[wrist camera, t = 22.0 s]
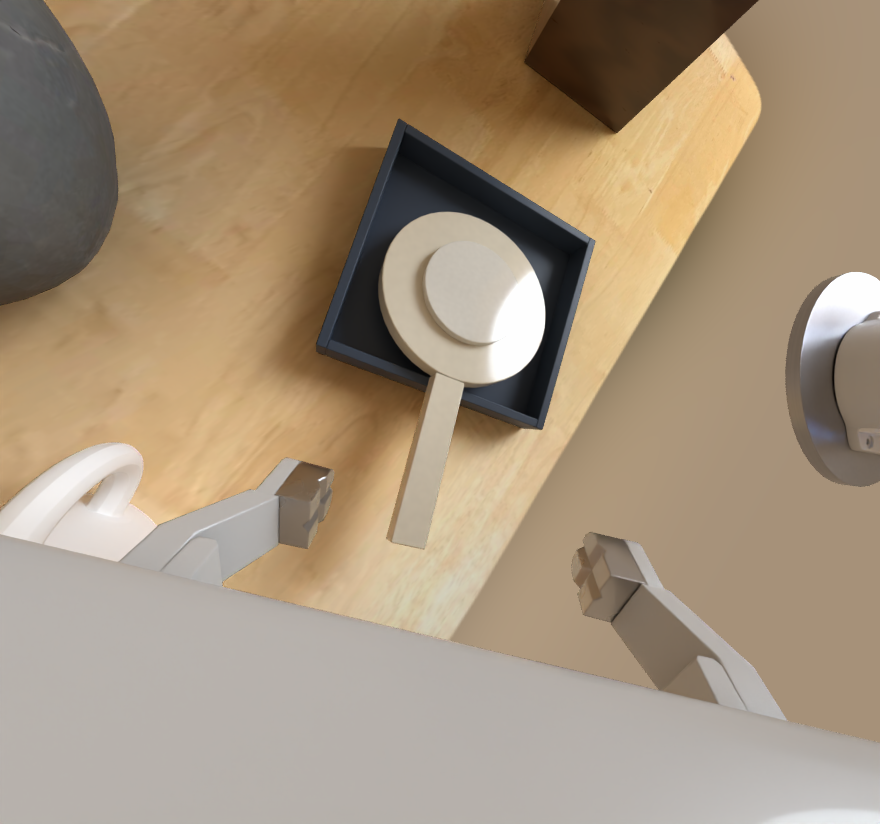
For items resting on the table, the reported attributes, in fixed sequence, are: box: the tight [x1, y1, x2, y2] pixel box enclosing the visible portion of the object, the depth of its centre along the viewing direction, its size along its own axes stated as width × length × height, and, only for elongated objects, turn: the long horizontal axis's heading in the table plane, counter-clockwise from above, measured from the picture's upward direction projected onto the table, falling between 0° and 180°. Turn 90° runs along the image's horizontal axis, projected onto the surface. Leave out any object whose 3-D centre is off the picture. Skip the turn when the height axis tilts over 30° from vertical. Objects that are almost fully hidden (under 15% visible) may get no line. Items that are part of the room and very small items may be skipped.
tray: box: [316, 119, 595, 430], centre depth 25 cm, size 16×15×3 cm
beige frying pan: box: [378, 212, 545, 549], centre depth 22 cm, size 12×22×2 cm, turn 162°
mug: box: [0, 442, 157, 562], centre depth 14 cm, size 12×8×10 cm
